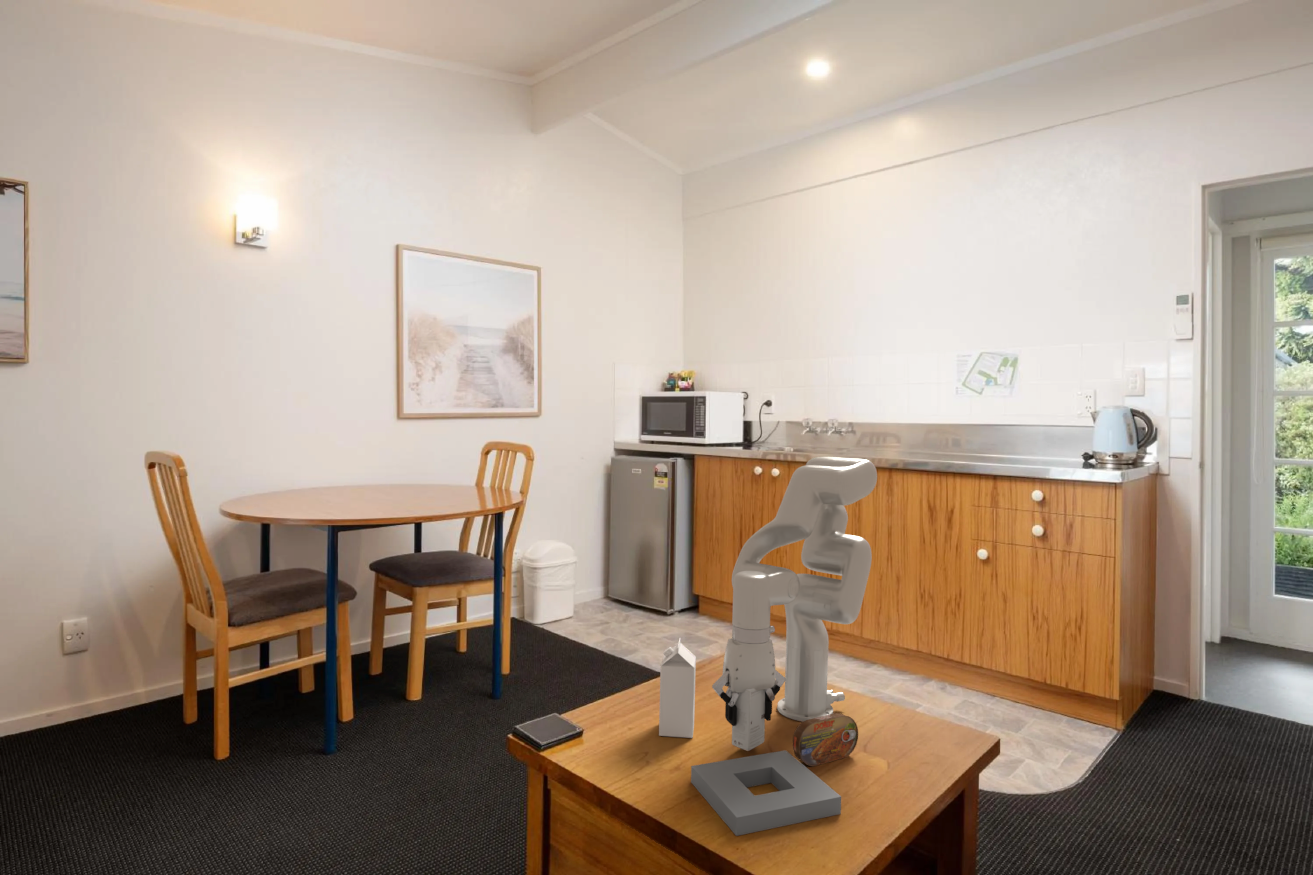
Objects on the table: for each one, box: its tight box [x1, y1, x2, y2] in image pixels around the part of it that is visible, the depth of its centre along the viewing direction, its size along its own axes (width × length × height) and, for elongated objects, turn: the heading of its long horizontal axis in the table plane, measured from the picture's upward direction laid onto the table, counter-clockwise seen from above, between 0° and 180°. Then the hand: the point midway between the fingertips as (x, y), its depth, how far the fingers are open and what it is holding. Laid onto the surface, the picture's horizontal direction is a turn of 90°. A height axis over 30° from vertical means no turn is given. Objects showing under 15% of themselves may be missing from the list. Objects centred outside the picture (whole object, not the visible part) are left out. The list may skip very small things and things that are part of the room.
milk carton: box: [658, 637, 697, 739], centre depth 155 cm, size 7×7×19 cm
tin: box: [792, 712, 859, 767], centre depth 144 cm, size 15×3×8 cm, turn 117°
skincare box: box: [731, 689, 766, 752], centre depth 146 cm, size 6×4×12 cm
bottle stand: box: [690, 749, 842, 837], centre depth 128 cm, size 20×18×3 cm
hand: (748, 719), depth 146 cm, fingers closed on skincare box, 7 cm apart
